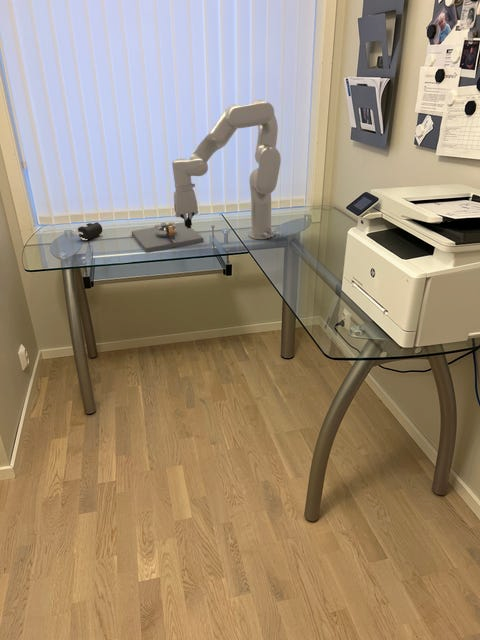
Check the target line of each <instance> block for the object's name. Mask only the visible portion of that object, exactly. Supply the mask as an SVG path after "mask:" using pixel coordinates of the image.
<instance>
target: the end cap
mask: <svg viewBox="0 0 480 640" xmlns="http://www.w3.org/2000/svg"><path fill="white" fill-rule="evenodd" d="M77 232H78V237H79V238H81V237H82V238H85V239H90V240H92V239H94V238H96V236H97V237H98V235H99V236H100V235H101V234H102V233H103V227H102V225H101V224H100V222H97V221H96V222H94V223H91V222H90V223H86V226H79V227H77ZM81 233H82V234H81ZM91 238H92V239H91Z"/></svg>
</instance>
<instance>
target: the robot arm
mask: <svg viewBox="0 0 480 640" xmlns="http://www.w3.org/2000/svg"><path fill="white" fill-rule="evenodd" d="M278 125H279V124H278V120H277V118H276V115H275V108H274V106H273V104H271V103H270V101H269V102H268V101H265V100H262V99H256V100H254V101H253V102H251V104H246V105H237V104H231V105H229V106H227V108H226V109H225V110H224V112H222V114H221V116H219V119H218V120H217V122H216V123H215V124H214V126H213V127H212V128H211V130H210V131H209V132H208V134H207V135H206V136H205V137H204V138H203V140H201V142H200V143H199V144H198V145H197V147H196V148H195V150H194V151H193V152H192V154H191V155H190V157H189V159H187V158H177V159H174V160H172V162H171V165H172V172H173V173H172V174H173V180H174V182H173V183H174V187H175V188H174V189H175V191H173V205H174V206H173V208H174V213H175V217H176V218H181V219H182V220H184V221H183V222H185V227H187V228H192V226H193V224H192V219H193V217H194V216H195V215H197V214H199V207H198V202H197V197H196V193H195V189H194V188H195V187H196V183H193V181H192V177H203V176H204V175H205V174H207V173H208V171H209V165H208V161H209V160H210V158H212V156H213V155H214V154H215V153H216V152H217V151H218V150H221V149H222V148H224V147H225V146H226V145H227V144H228V142H229V141H230V139H231V138H232V137H233V135H234V134H235V132H236V131H237V130H238V129H244V128H245V129H246V128H250V127H255V126H256V127H257V128H258V132H257V133H258V134H257V140H256V141H257V143H256V147H255V153H254V160H255V162H256V163H257V164H258V168H255V169H254V170H253V171H252V172H251V174H250V176H249V189H250V191H249V192H250V209H251V210H250V212H251V213H250V214H251V215H250V216H251V217H250V218H251V230H250V231H249V232H248V237H249V238H250V239H254V240H268V239H267V238H269V239H271V238H270V237H272V238H273V237H275V231H273V230H272V193H273V192H274V190H275V189H276V187H277V184H278V178H279V173H280V168H281V161H282V160H281V153H280V151H279V150H278V148H276V147H277V142H278V132H279V130H278V129H279V128H278V127H279V126H278Z"/></svg>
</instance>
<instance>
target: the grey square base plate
mask: <svg viewBox="0 0 480 640" xmlns="http://www.w3.org/2000/svg"><path fill="white" fill-rule="evenodd" d="M174 225H176V232H177V233H176V235H175V239H174V240H171V239H170V238H169V237H158V236H156V231H155V226H154V227H148V228H141V229H135V230H131V236H132V237H133V238H134V239H135V240H136V242H138V244H139V245H140V246H141V247H142V249H143V250H144V251H145V253H150V252H156V251H160V250H161V251H162V250H167V249H171V248H177V247H183V246H189V245H194V244H198V243H199V244H200V243H204V236H202V235H201V234H199V233H198V232H197V231H196V230H195V229H193V228H192V227H191V228H187V227H185V222H184V221H182V222H177V223H174Z"/></svg>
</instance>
